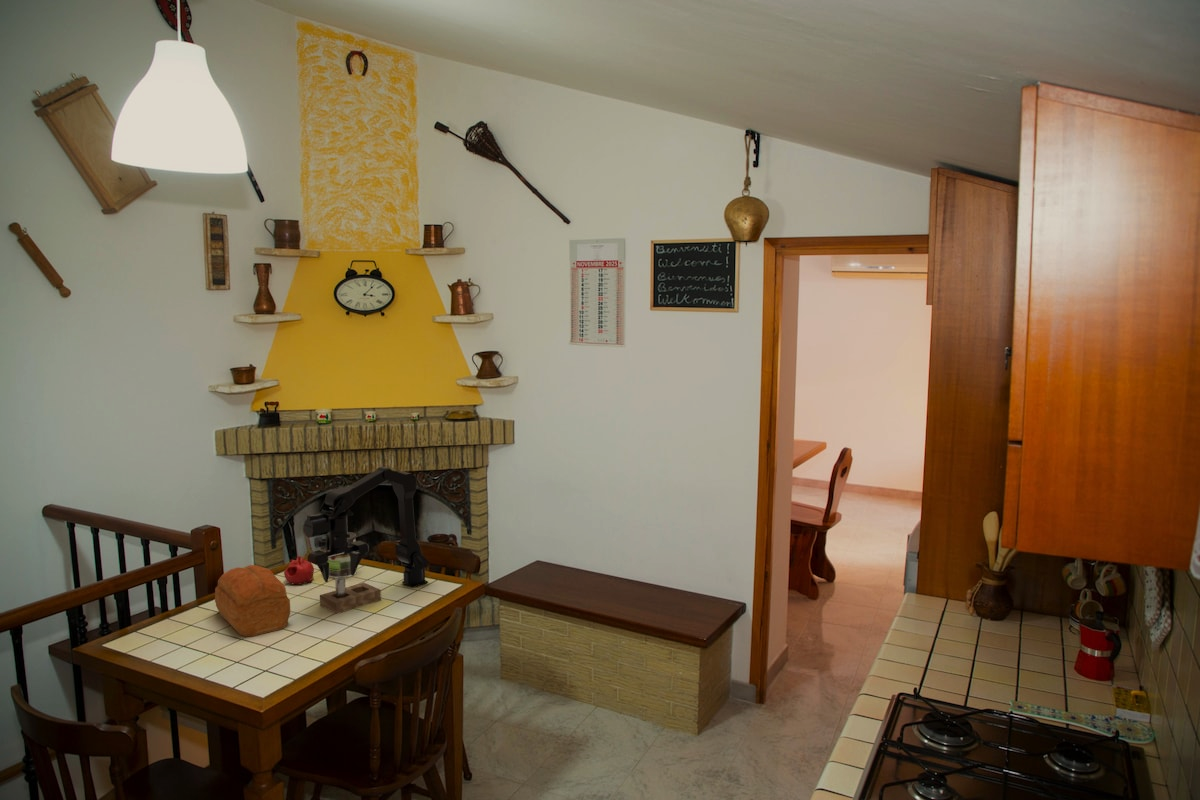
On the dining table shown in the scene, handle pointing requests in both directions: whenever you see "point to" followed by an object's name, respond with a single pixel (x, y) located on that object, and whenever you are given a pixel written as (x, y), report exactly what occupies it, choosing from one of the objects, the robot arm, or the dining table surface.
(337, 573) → the coffee can
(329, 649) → the dining table surface
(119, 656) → the dining table surface
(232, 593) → the bread
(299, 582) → the pomegranate
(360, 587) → the socket block
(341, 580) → the peg
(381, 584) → the dining table surface
